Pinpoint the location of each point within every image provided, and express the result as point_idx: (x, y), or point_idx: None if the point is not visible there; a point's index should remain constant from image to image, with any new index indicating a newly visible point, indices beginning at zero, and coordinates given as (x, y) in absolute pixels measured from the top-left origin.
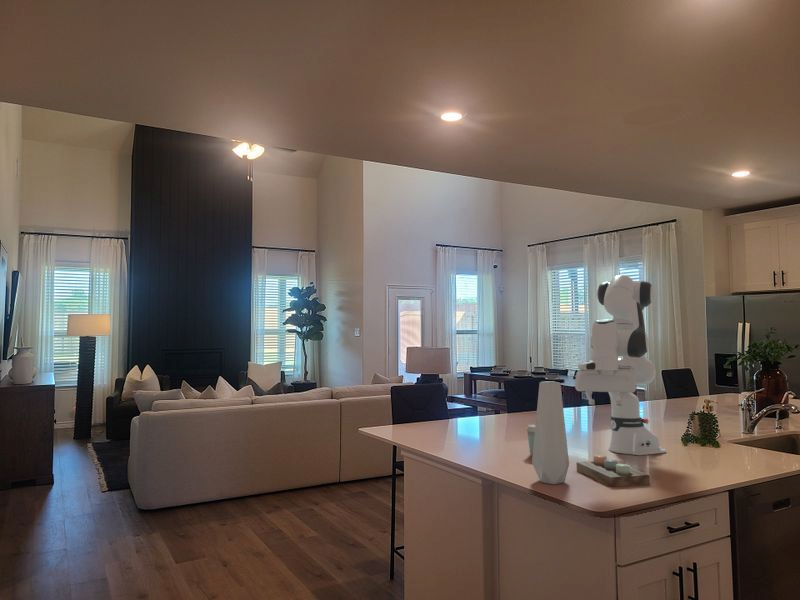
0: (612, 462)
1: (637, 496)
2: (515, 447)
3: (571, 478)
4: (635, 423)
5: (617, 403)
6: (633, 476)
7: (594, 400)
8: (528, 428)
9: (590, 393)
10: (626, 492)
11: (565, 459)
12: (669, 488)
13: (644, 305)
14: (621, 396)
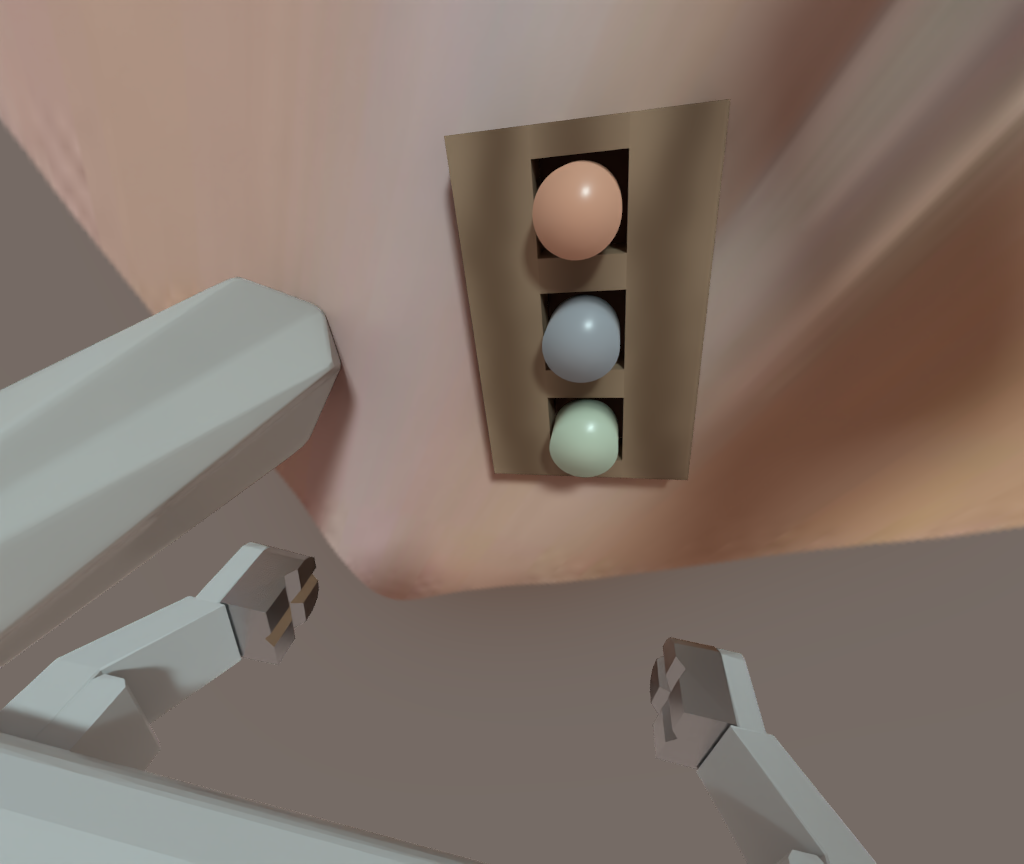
0: (568, 380)
1: (535, 551)
2: None
3: (386, 306)
4: None
5: (657, 692)
6: (603, 474)
7: (283, 654)
8: None
9: (131, 765)
10: (523, 514)
11: (281, 462)
12: (716, 513)
13: None
14: (771, 846)
